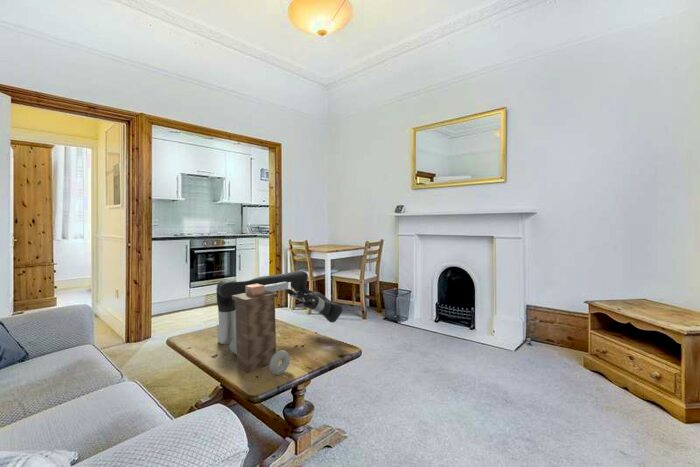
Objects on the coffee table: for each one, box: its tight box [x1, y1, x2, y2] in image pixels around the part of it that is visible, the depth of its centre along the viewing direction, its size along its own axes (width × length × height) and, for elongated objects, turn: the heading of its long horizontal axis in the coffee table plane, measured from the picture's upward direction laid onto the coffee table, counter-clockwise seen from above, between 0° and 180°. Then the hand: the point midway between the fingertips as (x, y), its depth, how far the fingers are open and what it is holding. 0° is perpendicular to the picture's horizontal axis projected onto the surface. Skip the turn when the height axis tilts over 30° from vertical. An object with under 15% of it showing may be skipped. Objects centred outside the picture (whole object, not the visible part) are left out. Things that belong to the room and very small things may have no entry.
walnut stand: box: [232, 291, 279, 374], centre depth 149 cm, size 16×12×32 cm
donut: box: [269, 349, 291, 376], centre depth 140 cm, size 10×4×10 cm, turn 143°
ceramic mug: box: [229, 338, 237, 356], centre depth 161 cm, size 11×8×8 cm
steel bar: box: [245, 282, 289, 297], centre depth 153 cm, size 20×6×4 cm, turn 136°
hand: (291, 291), depth 162 cm, fingers open, 8 cm apart
